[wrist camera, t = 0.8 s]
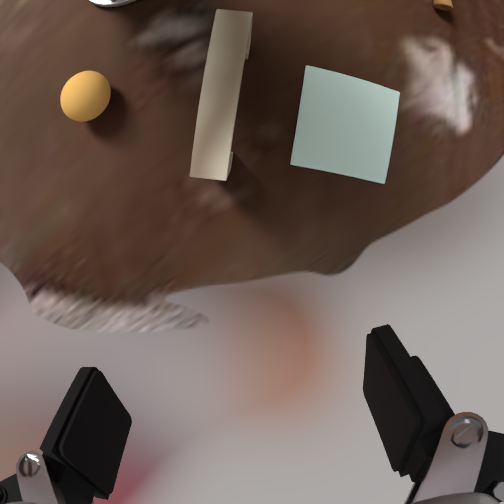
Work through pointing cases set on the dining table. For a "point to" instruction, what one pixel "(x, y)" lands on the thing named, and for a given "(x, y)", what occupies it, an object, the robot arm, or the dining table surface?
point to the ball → (85, 96)
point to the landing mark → (345, 125)
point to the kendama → (443, 4)
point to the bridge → (220, 94)
